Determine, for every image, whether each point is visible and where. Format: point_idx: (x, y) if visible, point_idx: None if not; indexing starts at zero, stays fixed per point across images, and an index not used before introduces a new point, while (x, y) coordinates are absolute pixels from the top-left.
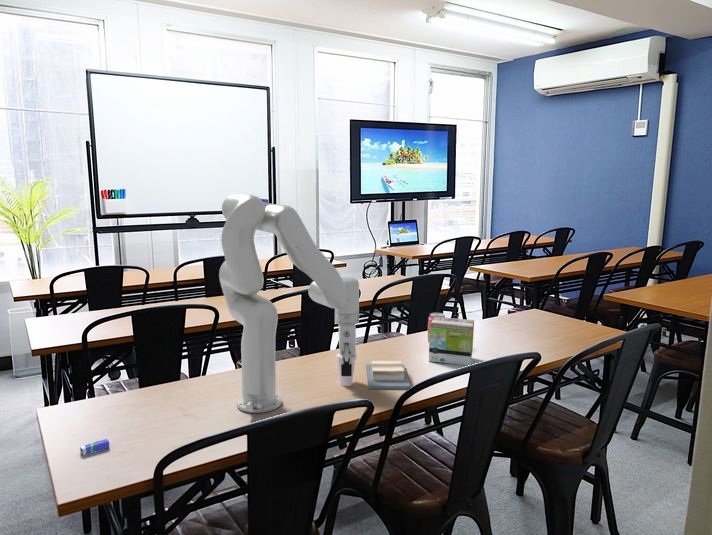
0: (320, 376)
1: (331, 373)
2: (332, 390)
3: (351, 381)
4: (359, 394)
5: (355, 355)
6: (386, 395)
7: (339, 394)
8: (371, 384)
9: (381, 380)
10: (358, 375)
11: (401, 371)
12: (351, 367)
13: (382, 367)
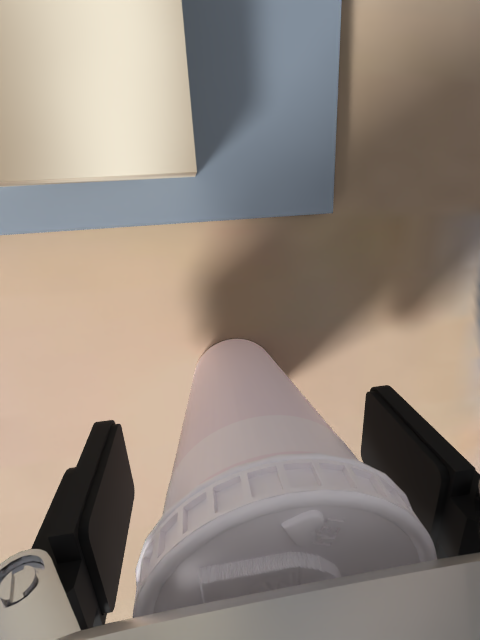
0: None
1: (44, 487)
2: (338, 434)
3: (263, 352)
4: (412, 274)
5: (323, 505)
6: (458, 54)
7: (399, 391)
8: (302, 188)
9: (197, 81)
10: (32, 307)
11: None
12: (441, 438)
13: (26, 15)
